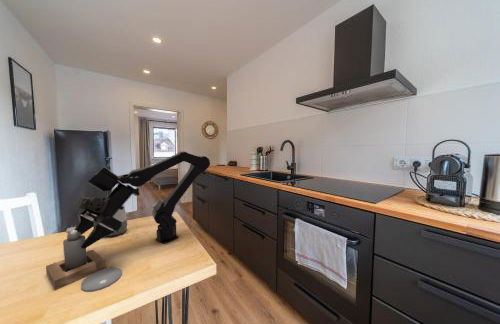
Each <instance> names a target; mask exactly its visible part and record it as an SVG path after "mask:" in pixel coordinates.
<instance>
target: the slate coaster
mask: <svg viewBox="0 0 500 324" xmlns="http://www.w3.org/2000/svg"><path fill="white" fill-rule="evenodd" d="M122 274H123V271H122V269H121V268H120V267H115V266H112V267H106V268H104V269H102V270H99V271H97V272H95V273H93V274H91V275H88V276H86V277H84V279H83V280H82V282H81V283H80V289H81V291H84V292H88V293H89V292H95V291H101V290H103V289H105V288H108V287H110V286H111V285H113V284H115V283H116V282H117V281H118V280H119V279H120V278H121V277H122Z"/></svg>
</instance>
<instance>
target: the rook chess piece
mask: <svg viewBox="0 0 500 324" xmlns="http://www.w3.org/2000/svg"><path fill="white" fill-rule="evenodd" d="M75 228H76V226H70V227H68V228H66V231H65V233H66V234H67V235H69V234H70V233H71V231H73V230H75Z"/></svg>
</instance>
